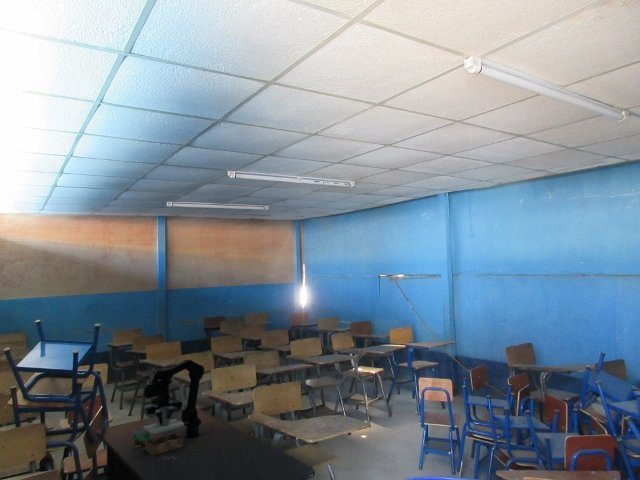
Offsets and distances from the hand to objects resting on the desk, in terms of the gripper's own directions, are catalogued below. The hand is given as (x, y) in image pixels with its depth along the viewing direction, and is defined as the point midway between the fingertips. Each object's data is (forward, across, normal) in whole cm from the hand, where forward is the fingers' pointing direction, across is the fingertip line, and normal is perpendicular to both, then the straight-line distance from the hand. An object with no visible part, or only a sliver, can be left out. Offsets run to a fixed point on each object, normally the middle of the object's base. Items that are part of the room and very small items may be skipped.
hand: (164, 423), depth 229 cm
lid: (+3, 0, 0) cm, 3 cm away
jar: (+12, -4, 0) cm, 13 cm away
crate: (+13, 0, 0) cm, 13 cm away
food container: (+13, +5, -14) cm, 20 cm away
